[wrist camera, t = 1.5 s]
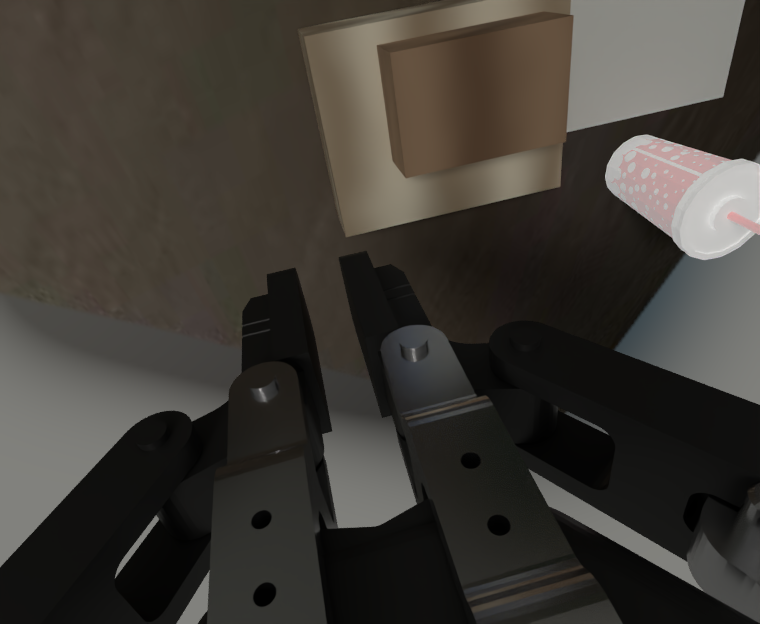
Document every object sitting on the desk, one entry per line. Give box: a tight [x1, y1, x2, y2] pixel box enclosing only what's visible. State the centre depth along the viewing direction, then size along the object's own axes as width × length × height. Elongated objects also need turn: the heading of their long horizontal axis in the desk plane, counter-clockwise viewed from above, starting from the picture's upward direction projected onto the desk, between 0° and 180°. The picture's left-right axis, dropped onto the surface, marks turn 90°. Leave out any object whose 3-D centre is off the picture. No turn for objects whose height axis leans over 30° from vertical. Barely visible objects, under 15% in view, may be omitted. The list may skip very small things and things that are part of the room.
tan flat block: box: [297, 0, 571, 237], centre depth 30 cm, size 14×11×4 cm
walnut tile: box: [377, 11, 574, 178], centre depth 27 cm, size 9×6×3 cm, turn 99°
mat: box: [567, 0, 745, 132], centre depth 32 cm, size 14×9×1 cm, turn 99°
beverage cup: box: [605, 135, 760, 260], centre depth 32 cm, size 6×6×14 cm
